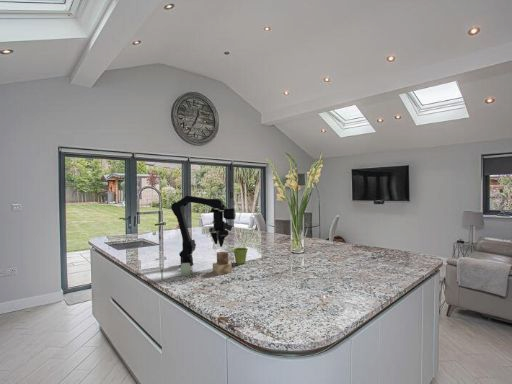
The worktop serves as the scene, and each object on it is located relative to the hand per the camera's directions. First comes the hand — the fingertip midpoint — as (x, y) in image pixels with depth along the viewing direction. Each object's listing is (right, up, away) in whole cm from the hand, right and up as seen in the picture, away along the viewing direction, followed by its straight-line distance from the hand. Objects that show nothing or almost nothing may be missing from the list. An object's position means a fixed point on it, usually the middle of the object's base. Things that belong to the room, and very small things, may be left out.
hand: (218, 245), depth 178 cm
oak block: (+4, -13, -12) cm, 18 cm away
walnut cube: (+4, -8, -12) cm, 15 cm away
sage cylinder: (-16, -13, -17) cm, 26 cm away
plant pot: (+13, -12, +7) cm, 19 cm away
